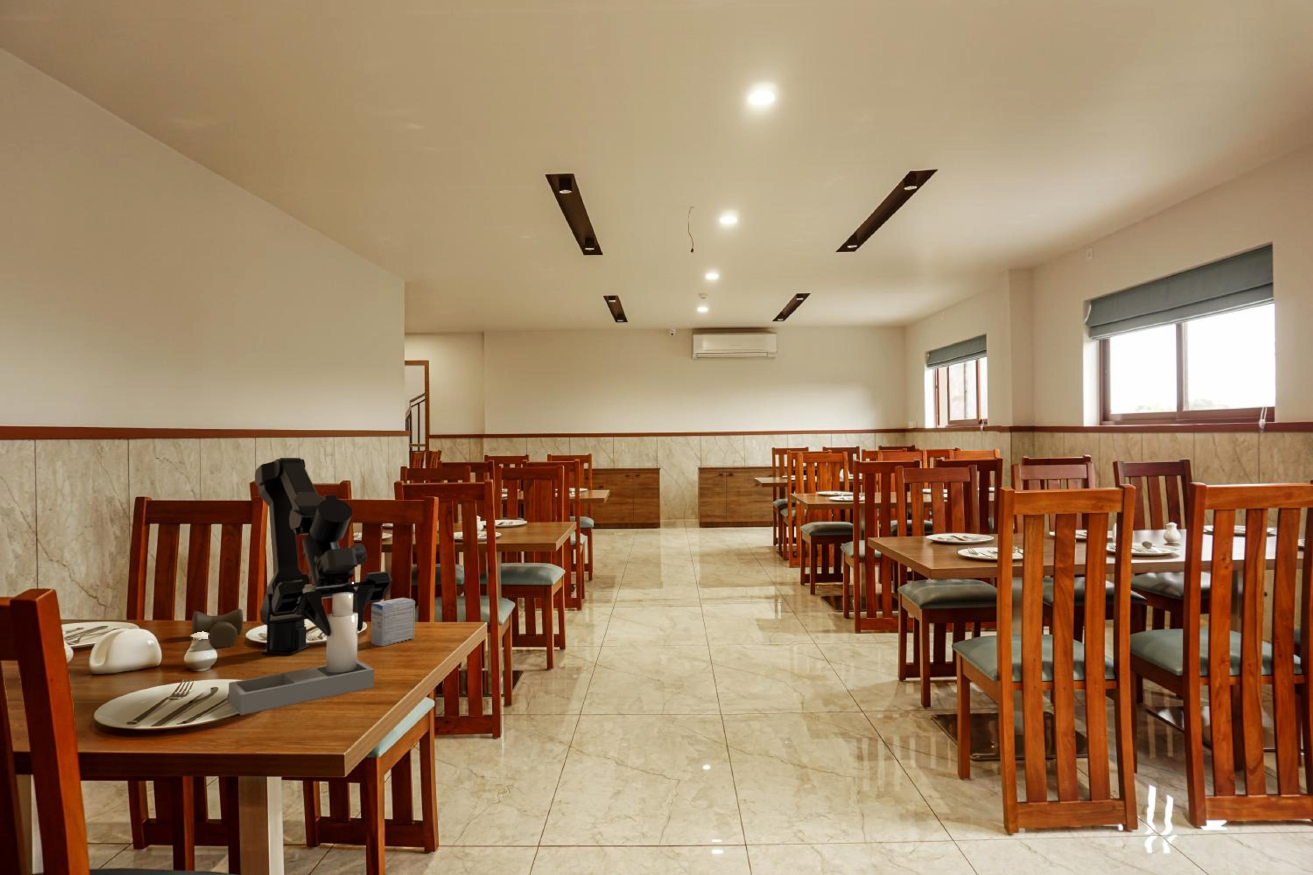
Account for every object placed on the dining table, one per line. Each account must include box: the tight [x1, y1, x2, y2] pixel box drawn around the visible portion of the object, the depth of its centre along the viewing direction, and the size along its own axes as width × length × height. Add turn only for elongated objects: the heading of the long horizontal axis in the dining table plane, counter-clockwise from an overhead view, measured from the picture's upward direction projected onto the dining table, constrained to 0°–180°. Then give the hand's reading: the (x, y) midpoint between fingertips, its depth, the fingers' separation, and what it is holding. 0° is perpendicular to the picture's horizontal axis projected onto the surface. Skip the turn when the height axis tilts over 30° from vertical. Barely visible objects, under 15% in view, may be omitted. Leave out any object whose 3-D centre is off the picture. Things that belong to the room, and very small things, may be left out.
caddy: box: [228, 659, 375, 716], centre depth 119 cm, size 8×20×4 cm, turn 132°
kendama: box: [191, 608, 244, 649], centre depth 158 cm, size 6×10×20 cm
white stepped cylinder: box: [325, 592, 359, 672], centre depth 123 cm, size 5×5×12 cm
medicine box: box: [370, 597, 416, 647], centre depth 156 cm, size 8×4×9 cm, turn 144°
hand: (345, 632), depth 122 cm, fingers closed on white stepped cylinder, 5 cm apart
